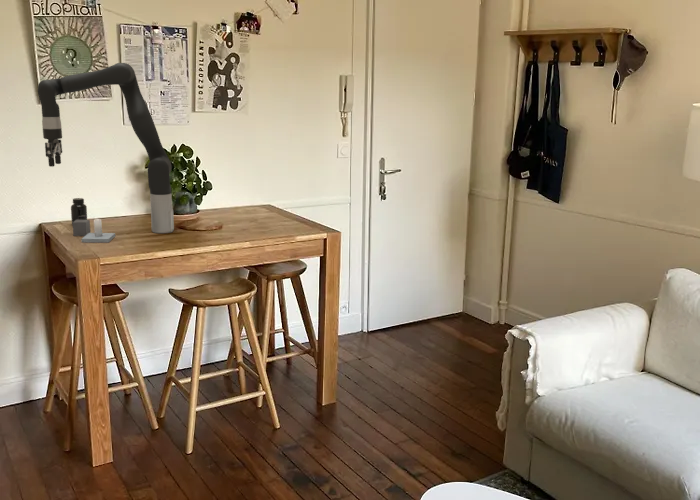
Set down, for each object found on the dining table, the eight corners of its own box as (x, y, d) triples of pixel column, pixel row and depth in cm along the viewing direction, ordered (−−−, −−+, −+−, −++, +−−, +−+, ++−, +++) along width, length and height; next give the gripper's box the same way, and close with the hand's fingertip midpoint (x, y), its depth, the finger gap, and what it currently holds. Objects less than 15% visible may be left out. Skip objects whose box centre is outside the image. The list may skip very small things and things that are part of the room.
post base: (115, 236, 306) (114, 217, 303) (108, 242, 295) (107, 222, 293) (89, 236, 305) (88, 216, 303) (81, 242, 294) (80, 222, 292)
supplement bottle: (82, 226, 322) (80, 200, 319) (68, 225, 324) (66, 199, 321) (90, 223, 329) (88, 198, 326) (77, 222, 330) (75, 197, 327)
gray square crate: (90, 233, 310) (89, 219, 309) (86, 236, 305) (85, 222, 303) (77, 232, 310) (76, 219, 308) (73, 235, 305) (72, 222, 303)
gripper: (55, 129, 296) (58, 167, 300) (66, 126, 310) (69, 163, 314) (37, 128, 296) (40, 167, 300) (48, 125, 309) (51, 162, 313)
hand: (55, 165), depth 307 cm, fingers open, 8 cm apart
